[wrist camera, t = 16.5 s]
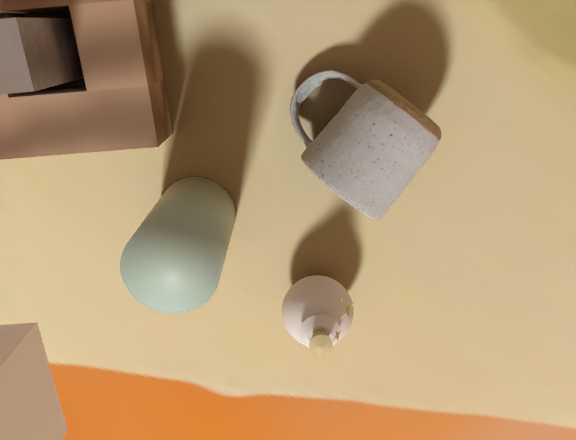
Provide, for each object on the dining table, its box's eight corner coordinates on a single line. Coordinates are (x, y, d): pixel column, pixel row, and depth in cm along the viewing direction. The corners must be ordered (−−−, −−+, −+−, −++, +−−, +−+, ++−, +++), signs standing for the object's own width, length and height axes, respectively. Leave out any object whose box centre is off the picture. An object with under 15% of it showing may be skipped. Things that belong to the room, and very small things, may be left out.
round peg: (153, 179, 43) (111, 228, 33) (230, 173, 43) (212, 220, 33) (166, 250, 46) (130, 317, 35) (239, 245, 46) (225, 310, 35)
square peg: (35, 23, 39) (-56, 23, 29) (87, 18, 39) (15, 17, 29) (47, 78, 41) (-34, 97, 30) (98, 73, 40) (34, 91, 30)
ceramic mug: (435, 123, 42) (464, 143, 35) (370, 202, 44) (384, 235, 37) (329, 41, 40) (337, 44, 33) (268, 128, 42) (261, 148, 35)
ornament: (269, 301, 48) (265, 370, 38) (315, 239, 45) (322, 295, 36) (324, 333, 49) (332, 407, 39) (371, 273, 47) (392, 336, 37)
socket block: (-52, -45, 38) (-100, -55, 33) (141, -63, 37) (120, -75, 32) (2, 146, 42) (-34, 162, 38) (172, 132, 42) (158, 146, 37)
